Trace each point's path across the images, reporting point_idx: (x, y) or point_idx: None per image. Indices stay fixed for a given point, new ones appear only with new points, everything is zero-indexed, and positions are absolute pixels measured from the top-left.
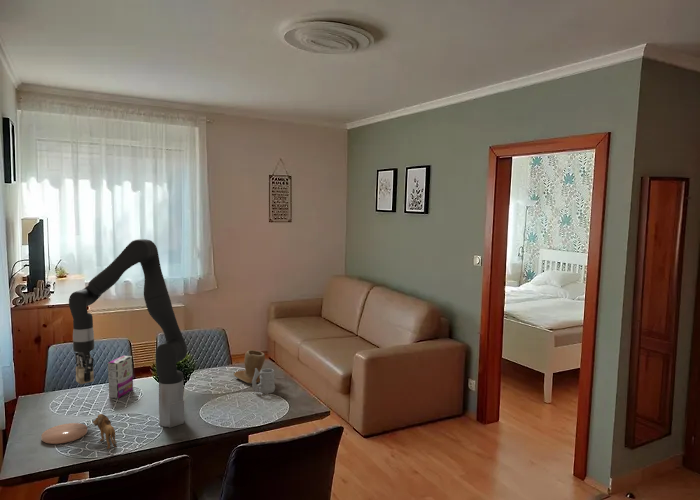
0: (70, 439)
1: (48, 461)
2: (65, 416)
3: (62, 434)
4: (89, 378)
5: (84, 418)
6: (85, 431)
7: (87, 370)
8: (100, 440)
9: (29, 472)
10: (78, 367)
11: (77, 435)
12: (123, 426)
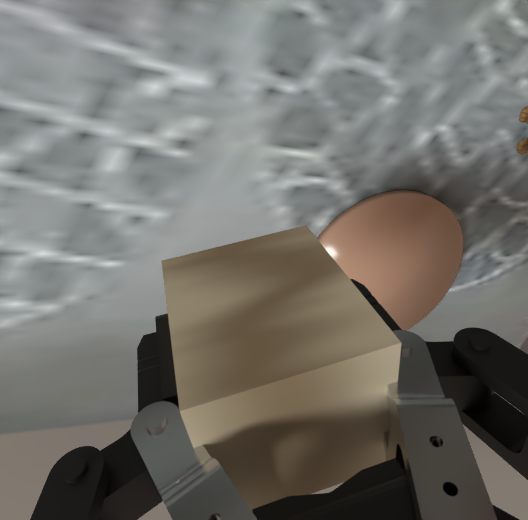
0: (459, 259)
1: (509, 306)
2: (146, 265)
3: (403, 285)
4: (367, 294)
5: (232, 182)
6: (445, 206)
7: (494, 396)
8: (524, 152)
9: (522, 339)
10: (278, 495)
11: (454, 237)
12: (478, 8)
